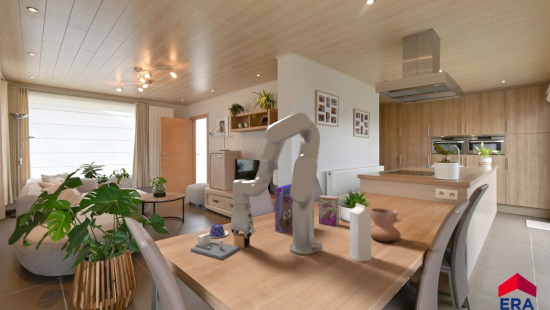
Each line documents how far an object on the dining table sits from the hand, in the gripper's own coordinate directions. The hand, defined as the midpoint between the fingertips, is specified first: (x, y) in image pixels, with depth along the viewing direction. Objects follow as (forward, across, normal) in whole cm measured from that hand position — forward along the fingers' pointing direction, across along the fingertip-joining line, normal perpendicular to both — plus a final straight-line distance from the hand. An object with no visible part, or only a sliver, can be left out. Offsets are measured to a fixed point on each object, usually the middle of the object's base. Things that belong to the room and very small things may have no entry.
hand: (242, 244), depth 116 cm
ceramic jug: (+1, -56, -41) cm, 69 cm away
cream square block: (-1, +14, +10) cm, 17 cm away
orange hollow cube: (0, 0, 0) cm, 0 cm away
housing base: (0, +7, +10) cm, 12 cm away
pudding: (+1, +21, -6) cm, 22 cm away
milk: (+1, -51, -13) cm, 52 cm away
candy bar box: (+1, -25, -52) cm, 58 cm away
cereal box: (+1, -6, -34) cm, 34 cm away
